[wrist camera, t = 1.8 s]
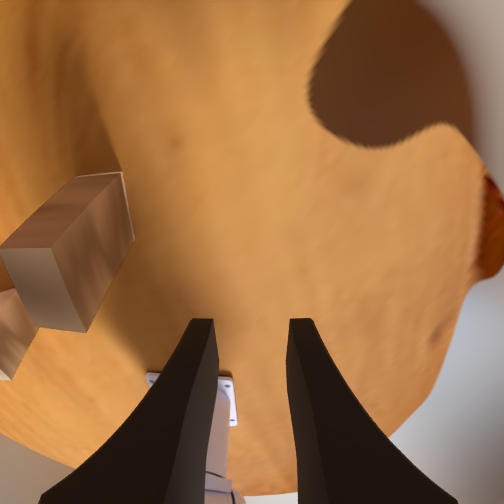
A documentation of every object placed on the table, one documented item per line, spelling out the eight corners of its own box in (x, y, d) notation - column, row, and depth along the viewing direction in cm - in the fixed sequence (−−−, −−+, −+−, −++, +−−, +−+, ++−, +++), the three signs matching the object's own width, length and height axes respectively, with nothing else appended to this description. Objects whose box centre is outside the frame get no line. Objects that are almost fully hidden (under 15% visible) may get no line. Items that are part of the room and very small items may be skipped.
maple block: (43, 320, 24) (11, 380, 18) (24, 323, 25) (-7, 379, 19) (19, 286, 22) (-21, 345, 16) (0, 292, 23) (-37, 346, 17)
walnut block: (135, 239, 19) (86, 332, 13) (92, 239, 20) (35, 326, 13) (122, 171, 17) (51, 247, 10) (76, 176, 17) (-3, 248, 10)
